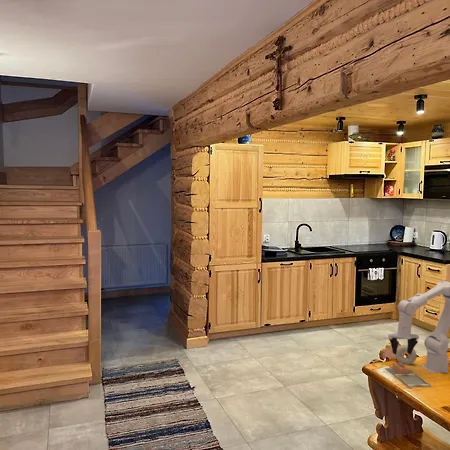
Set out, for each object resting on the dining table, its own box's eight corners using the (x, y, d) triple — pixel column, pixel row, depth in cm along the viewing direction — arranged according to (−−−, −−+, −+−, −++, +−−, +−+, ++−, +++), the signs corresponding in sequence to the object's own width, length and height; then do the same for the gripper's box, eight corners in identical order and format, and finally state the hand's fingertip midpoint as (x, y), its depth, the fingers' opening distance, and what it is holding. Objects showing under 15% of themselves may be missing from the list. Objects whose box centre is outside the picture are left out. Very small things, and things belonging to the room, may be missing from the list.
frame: (416, 375, 205) (416, 373, 205) (430, 386, 194) (430, 384, 194) (394, 376, 203) (394, 374, 203) (408, 387, 193) (408, 385, 192)
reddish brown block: (392, 368, 212) (392, 362, 211) (399, 368, 212) (400, 362, 212) (400, 374, 205) (400, 368, 205) (408, 374, 206) (408, 368, 205)
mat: (406, 369, 213) (407, 367, 213) (432, 388, 194) (432, 386, 194) (384, 369, 211) (384, 368, 211) (407, 389, 192) (407, 387, 192)
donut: (415, 365, 219) (417, 345, 218) (415, 367, 216) (417, 348, 215) (394, 360, 223) (396, 342, 222) (394, 363, 220) (395, 344, 219)
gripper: (395, 328, 201) (392, 356, 203) (423, 329, 204) (420, 357, 205) (387, 323, 208) (384, 350, 210) (415, 324, 211) (412, 351, 212)
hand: (401, 353), depth 208 cm, fingers open, 7 cm apart
